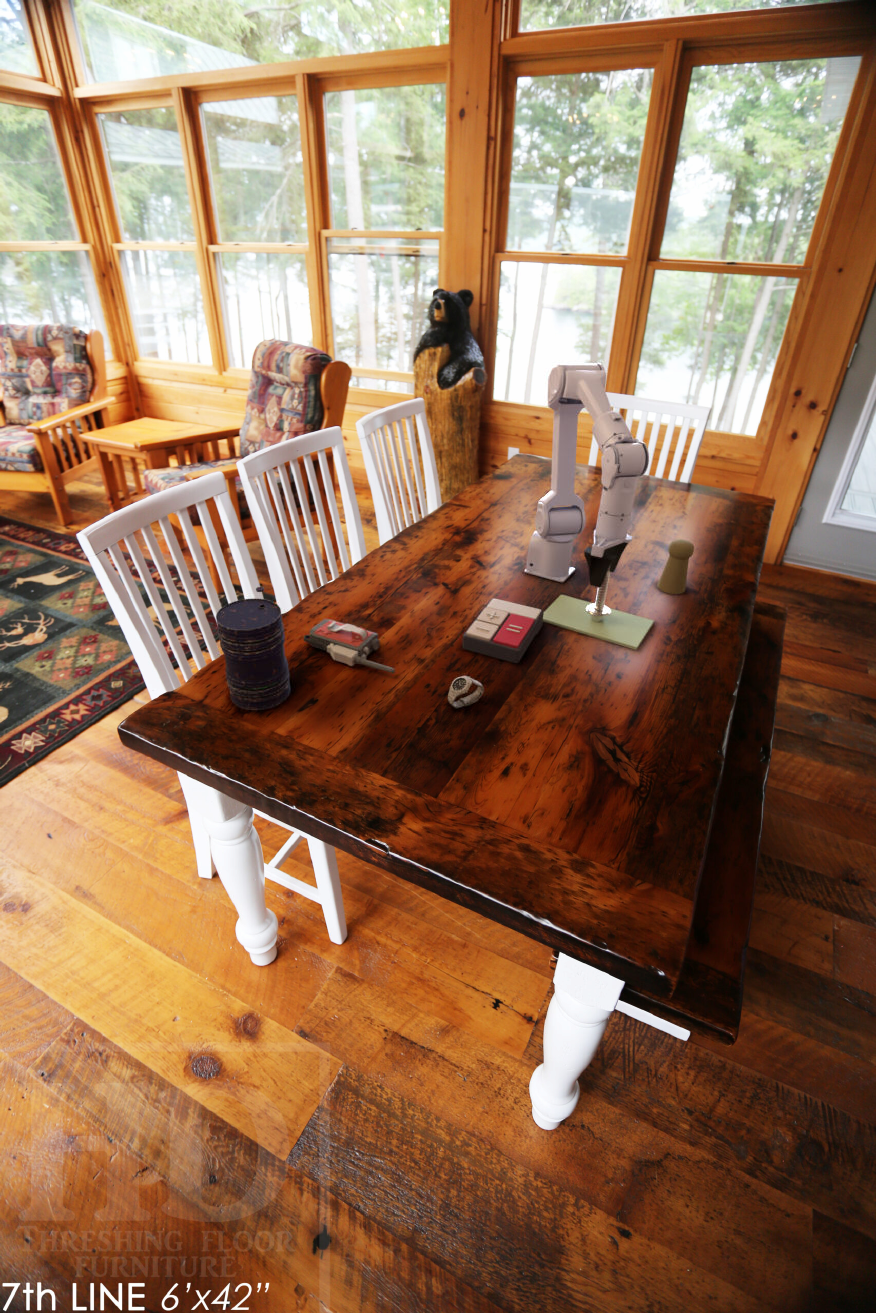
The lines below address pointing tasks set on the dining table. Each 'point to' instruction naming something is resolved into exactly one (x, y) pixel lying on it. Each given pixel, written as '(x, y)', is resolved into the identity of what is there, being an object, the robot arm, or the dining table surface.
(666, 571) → the olive pawn
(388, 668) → the walkie-talkie
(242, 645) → the dark blue cylinder
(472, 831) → the dining table surface
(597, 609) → the screw
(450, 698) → the wristwatch
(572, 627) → the mat
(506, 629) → the calculator
